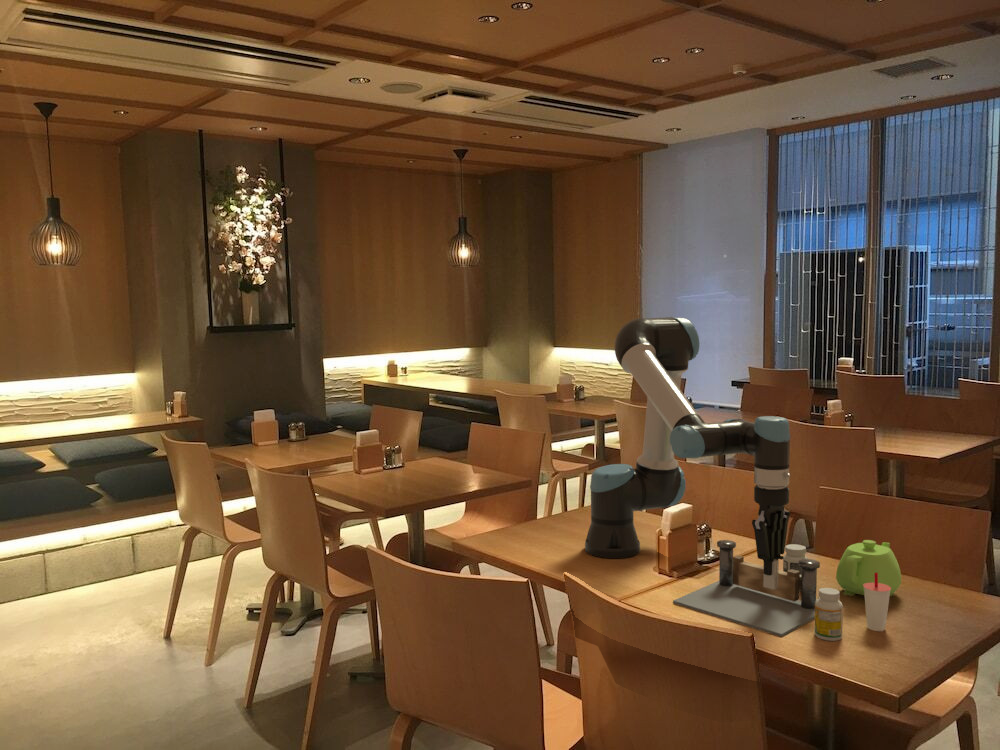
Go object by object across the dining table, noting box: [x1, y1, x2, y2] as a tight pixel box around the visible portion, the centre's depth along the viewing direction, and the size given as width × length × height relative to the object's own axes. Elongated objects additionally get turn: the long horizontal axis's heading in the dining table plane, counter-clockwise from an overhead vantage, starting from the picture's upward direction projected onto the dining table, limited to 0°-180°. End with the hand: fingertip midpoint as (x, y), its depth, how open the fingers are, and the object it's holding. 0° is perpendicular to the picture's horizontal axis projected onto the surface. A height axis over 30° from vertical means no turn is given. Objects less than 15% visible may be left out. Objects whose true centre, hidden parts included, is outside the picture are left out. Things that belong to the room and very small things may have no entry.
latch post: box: [799, 558, 821, 609], centre depth 187 cm, size 6×5×11 cm
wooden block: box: [733, 555, 800, 601], centre depth 194 cm, size 16×2×6 cm, turn 41°
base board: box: [672, 580, 815, 638], centre depth 189 cm, size 27×20×1 cm
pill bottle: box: [782, 543, 809, 592], centre depth 200 cm, size 6×6×10 cm
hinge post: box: [716, 539, 737, 586], centre depth 202 cm, size 4×4×11 cm
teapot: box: [835, 539, 902, 597], centre depth 195 cm, size 20×13×13 cm
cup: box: [863, 573, 891, 632], centre depth 175 cm, size 5×5×12 cm
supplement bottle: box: [814, 587, 844, 642], centre depth 172 cm, size 5×5×10 cm
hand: (770, 587), depth 191 cm, fingers closed
